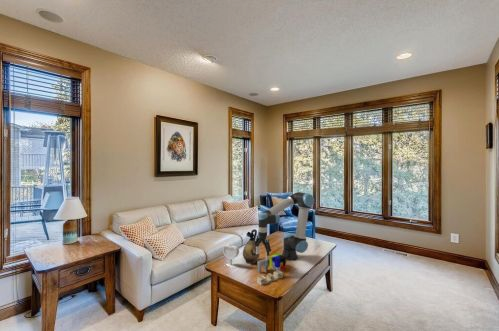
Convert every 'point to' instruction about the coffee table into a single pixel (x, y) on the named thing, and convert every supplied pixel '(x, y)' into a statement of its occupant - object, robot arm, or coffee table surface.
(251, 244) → the ceramic jug
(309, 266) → the coffee table surface
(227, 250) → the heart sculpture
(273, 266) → the puzzle toy
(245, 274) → the coffee table surface
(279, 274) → the cream lumpy bar
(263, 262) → the clip
